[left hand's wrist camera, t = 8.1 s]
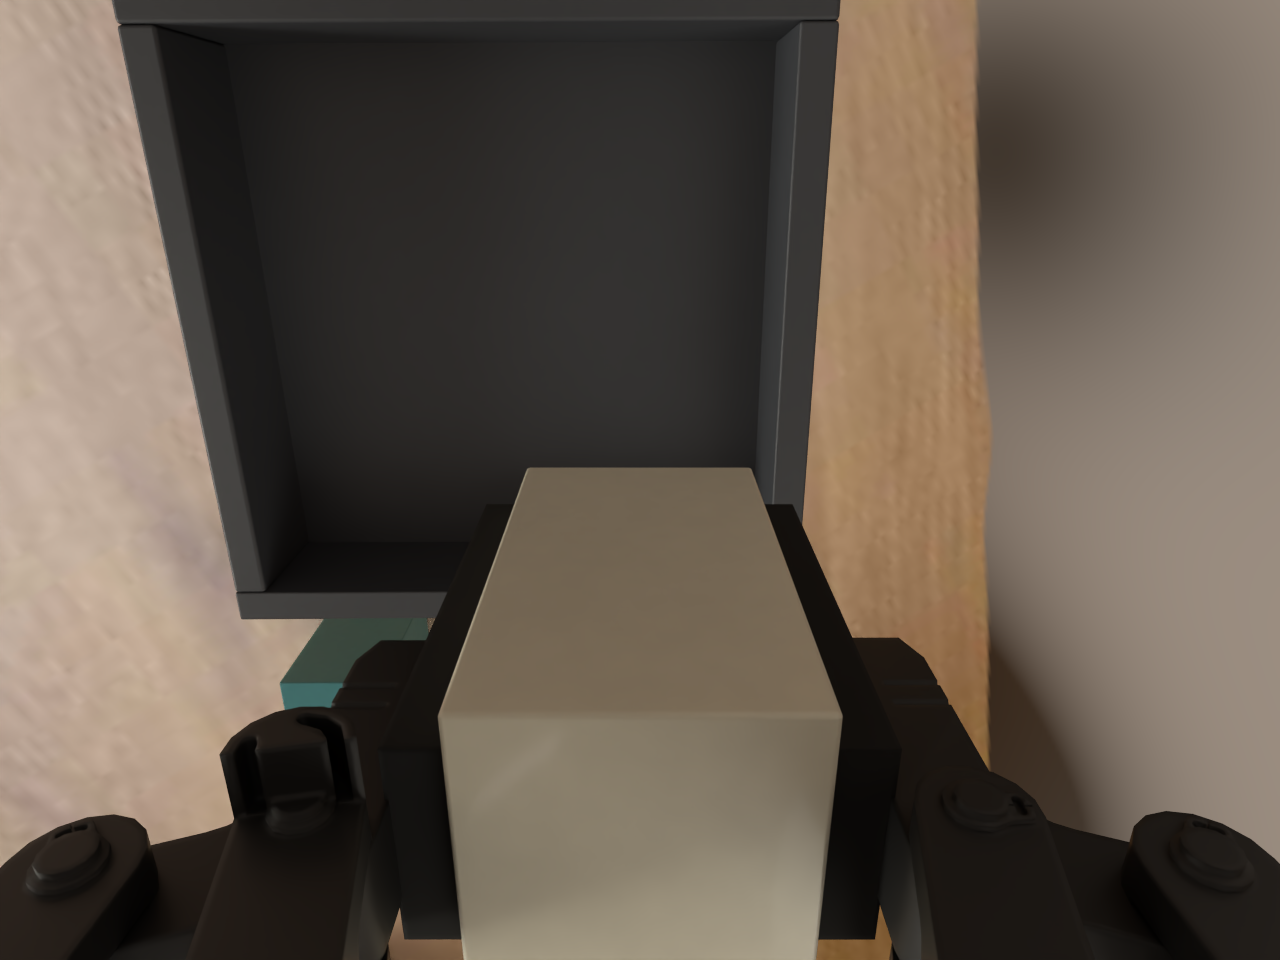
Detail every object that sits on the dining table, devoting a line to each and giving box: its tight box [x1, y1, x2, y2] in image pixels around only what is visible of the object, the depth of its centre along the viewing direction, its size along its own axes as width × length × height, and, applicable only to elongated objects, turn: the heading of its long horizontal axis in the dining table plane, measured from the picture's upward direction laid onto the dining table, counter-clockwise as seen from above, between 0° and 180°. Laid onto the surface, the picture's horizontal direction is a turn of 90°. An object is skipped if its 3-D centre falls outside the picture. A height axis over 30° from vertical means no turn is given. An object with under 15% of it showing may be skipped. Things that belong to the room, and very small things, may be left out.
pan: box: [112, 0, 840, 619], centre depth 18 cm, size 25×15×5 cm, turn 0°
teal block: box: [280, 618, 429, 710], centre depth 36 cm, size 4×4×7 cm
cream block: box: [438, 468, 843, 960], centre depth 12 cm, size 4×4×7 cm
